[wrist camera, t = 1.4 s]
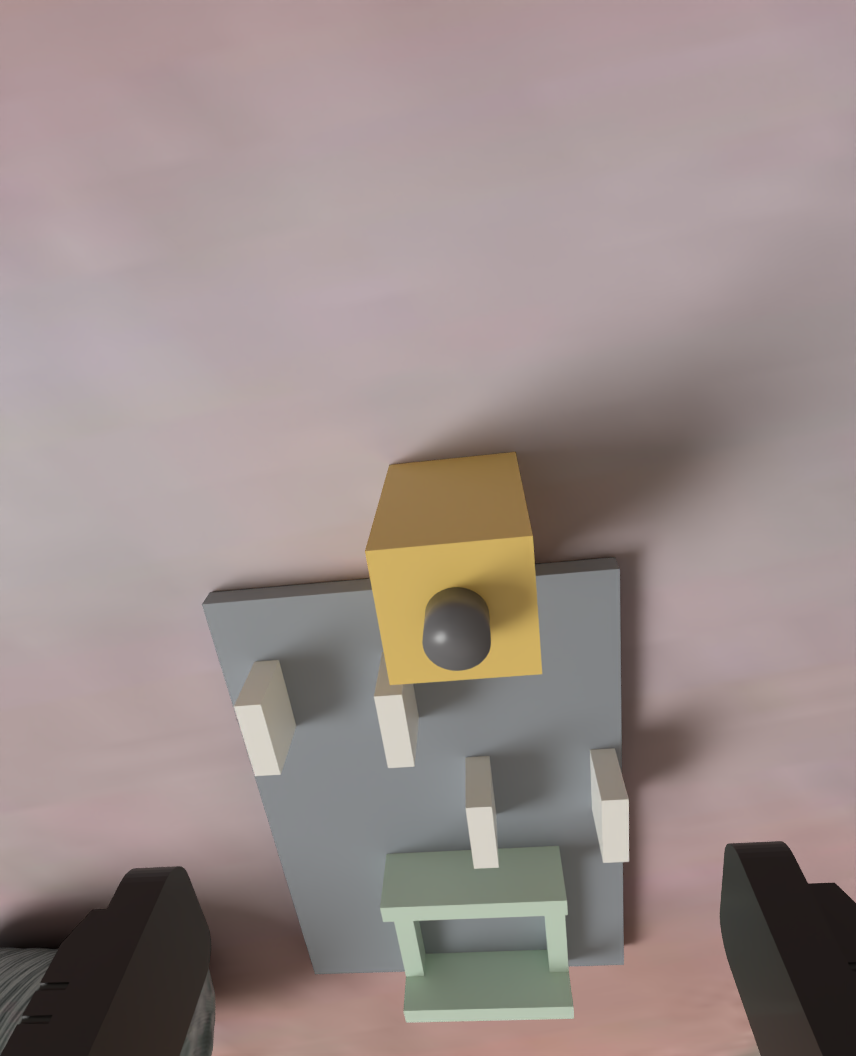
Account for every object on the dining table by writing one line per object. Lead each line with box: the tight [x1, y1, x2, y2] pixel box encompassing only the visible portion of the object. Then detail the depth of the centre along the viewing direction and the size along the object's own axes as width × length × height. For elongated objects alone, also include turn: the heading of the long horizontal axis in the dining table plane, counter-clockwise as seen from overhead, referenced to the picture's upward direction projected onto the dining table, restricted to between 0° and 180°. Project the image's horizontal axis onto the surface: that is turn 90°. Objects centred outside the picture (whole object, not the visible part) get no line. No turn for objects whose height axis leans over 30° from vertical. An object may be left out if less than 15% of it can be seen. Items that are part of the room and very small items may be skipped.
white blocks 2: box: [465, 748, 629, 869], centre depth 25 cm, size 3×6×2 cm, turn 98°
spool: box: [0, 947, 215, 1056], centre depth 30 cm, size 14×10×10 cm
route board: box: [202, 557, 624, 974], centre depth 27 cm, size 20×14×1 cm
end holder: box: [380, 846, 574, 1022], centre depth 28 cm, size 7×7×2 cm
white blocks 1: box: [234, 652, 419, 776], centre depth 24 cm, size 3×6×2 cm, turn 98°
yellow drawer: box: [365, 452, 542, 685], centre depth 19 cm, size 4×4×7 cm
